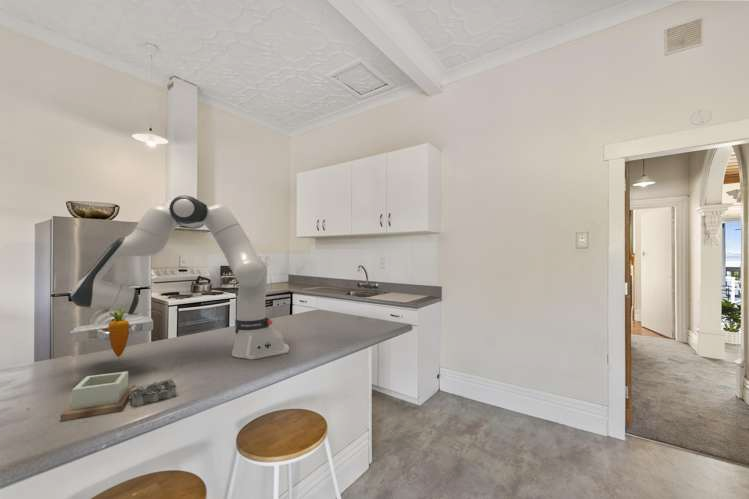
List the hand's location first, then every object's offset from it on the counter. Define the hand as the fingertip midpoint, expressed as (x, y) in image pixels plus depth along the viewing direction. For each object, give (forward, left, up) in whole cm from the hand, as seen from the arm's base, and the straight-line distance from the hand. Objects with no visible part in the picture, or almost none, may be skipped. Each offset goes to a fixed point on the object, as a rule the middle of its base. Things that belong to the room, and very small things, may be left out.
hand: (119, 333), depth 98 cm
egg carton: (-11, +14, -16) cm, 24 cm away
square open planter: (+1, +13, -14) cm, 19 cm away
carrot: (0, -1, -8) cm, 8 cm away
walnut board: (+1, +13, -16) cm, 21 cm away
